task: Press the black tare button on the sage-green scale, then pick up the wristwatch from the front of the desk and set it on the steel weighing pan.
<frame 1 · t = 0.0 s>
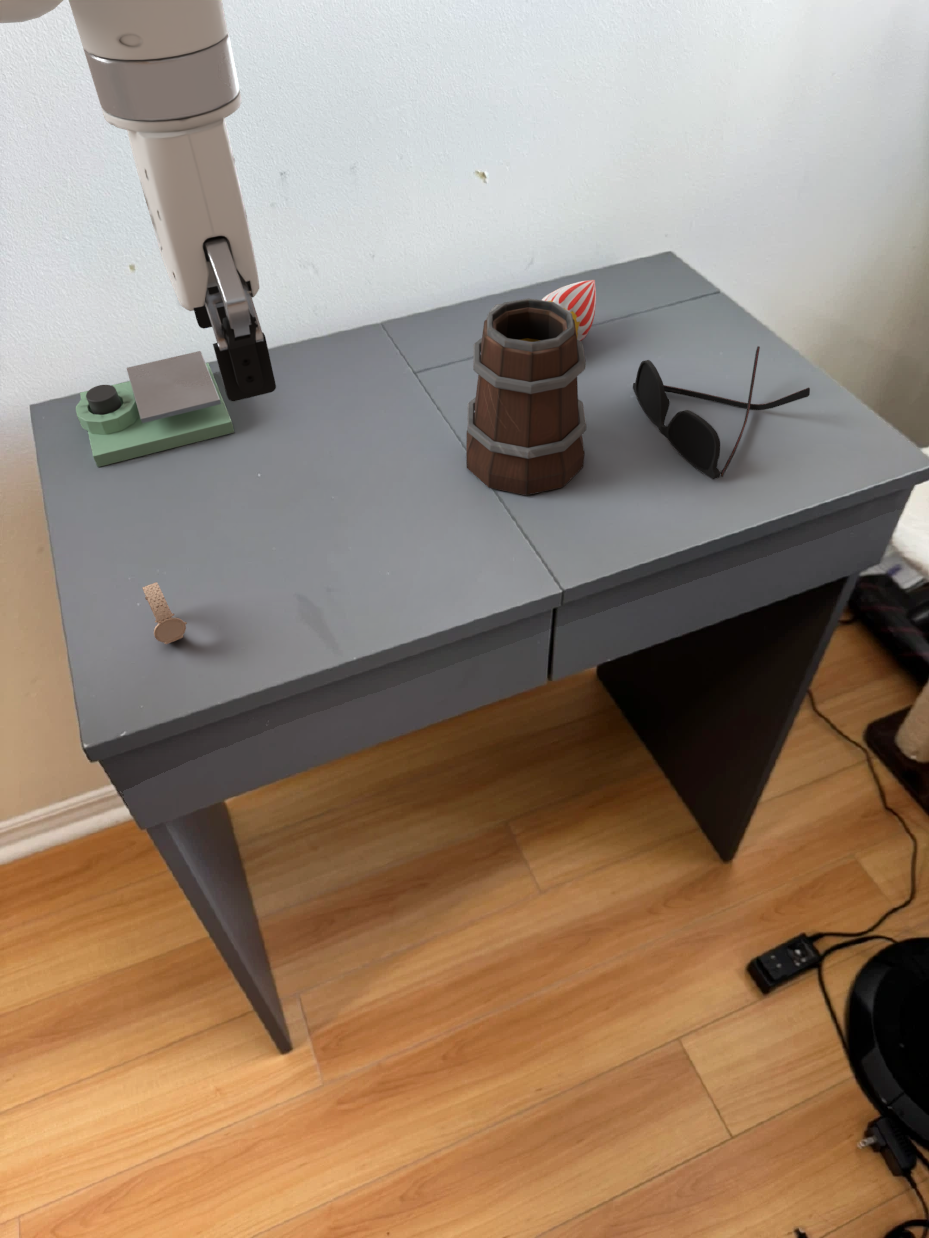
hand: (235, 357, 60), 22 cm above the table, tool pointing down, fingers open, 9 cm apart
wooden bucket: (516, 446, 89), on the table
pan: (181, 412, 94), resting on scale
tare button: (103, 400, 90), point 4 cm above the table, slide at 0.1 cm
sunglasses: (720, 422, 91), on the table
scale: (157, 417, 93), on the table
wristwatch: (171, 633, 73), on the table
ice cream cone: (545, 355, 100), on the table
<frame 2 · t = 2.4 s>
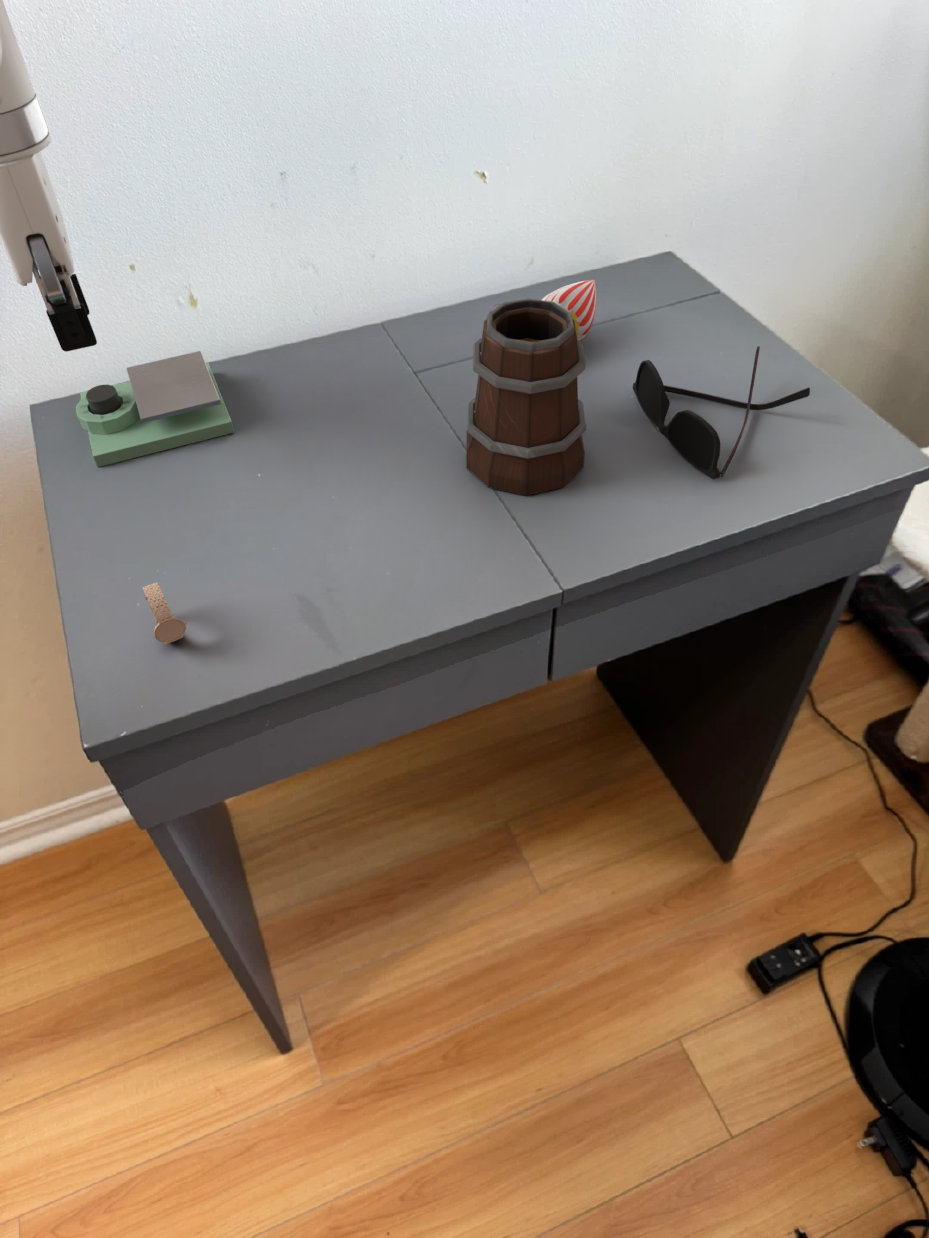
hand: (76, 330, 84), 11 cm above the table, tool pointing down, fingers open, 5 cm apart
nothing on the table moved.
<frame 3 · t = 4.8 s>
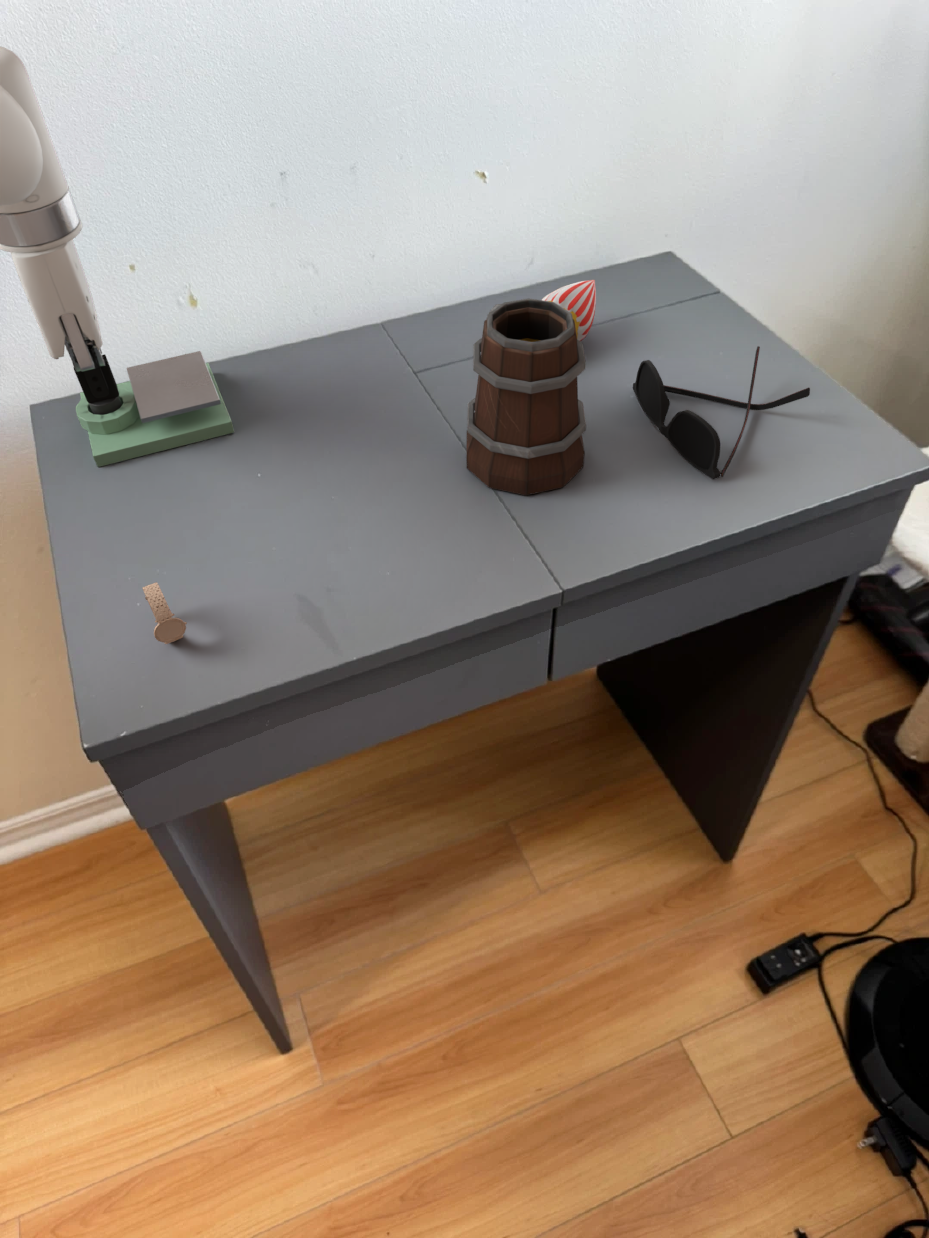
hand: (103, 395, 89), 4 cm above the table, tool pointing down, fingers closed
tare button: (105, 404, 90), point 3 cm above the table, slide at -0.4 cm, touching gripper
everything else where it was.
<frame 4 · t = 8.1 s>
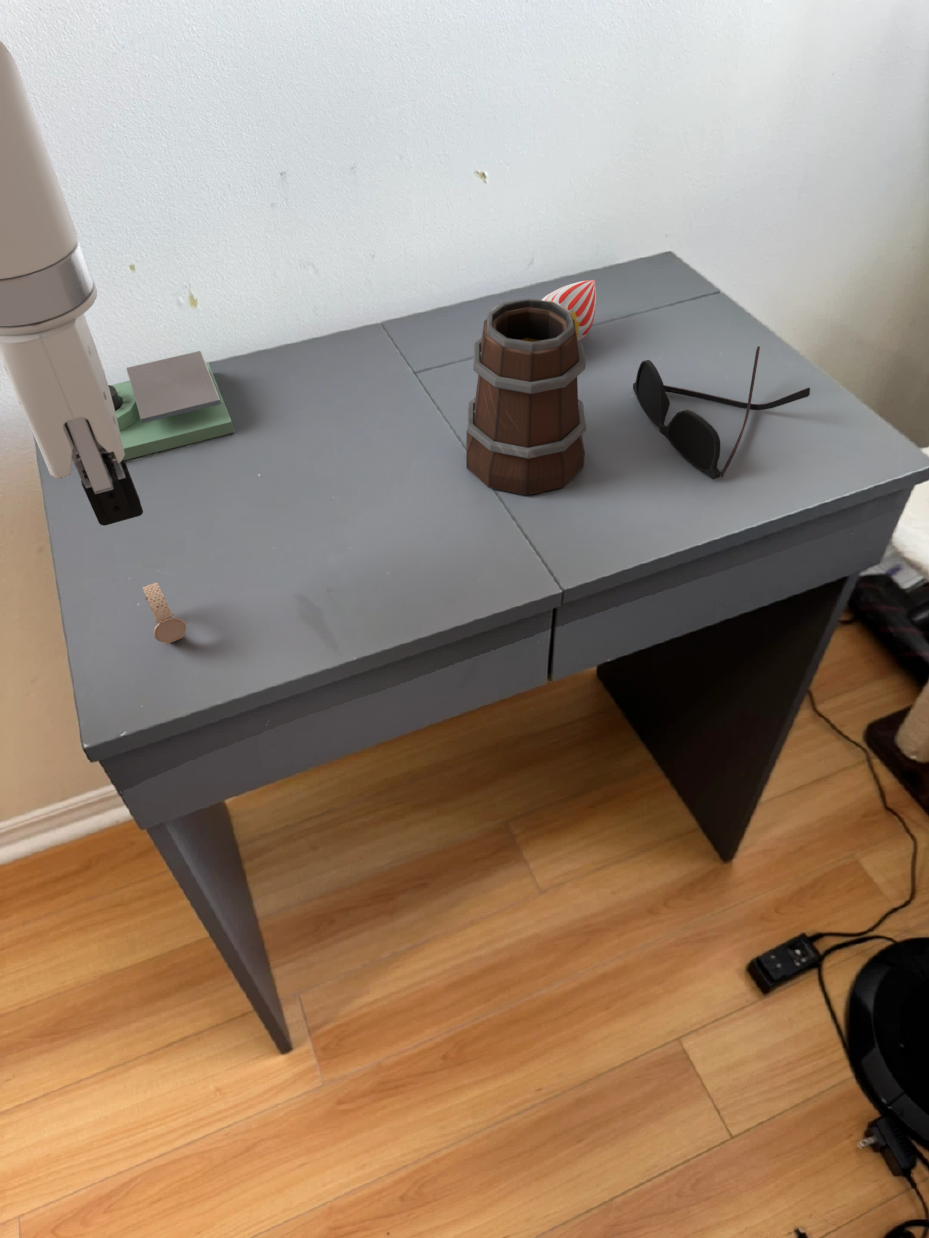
hand: (120, 513, 65), 12 cm above the table, tool pointing down, fingers closed
tare button: (103, 400, 90), point 3 cm above the table, slide at 0.1 cm
everything else where it was.
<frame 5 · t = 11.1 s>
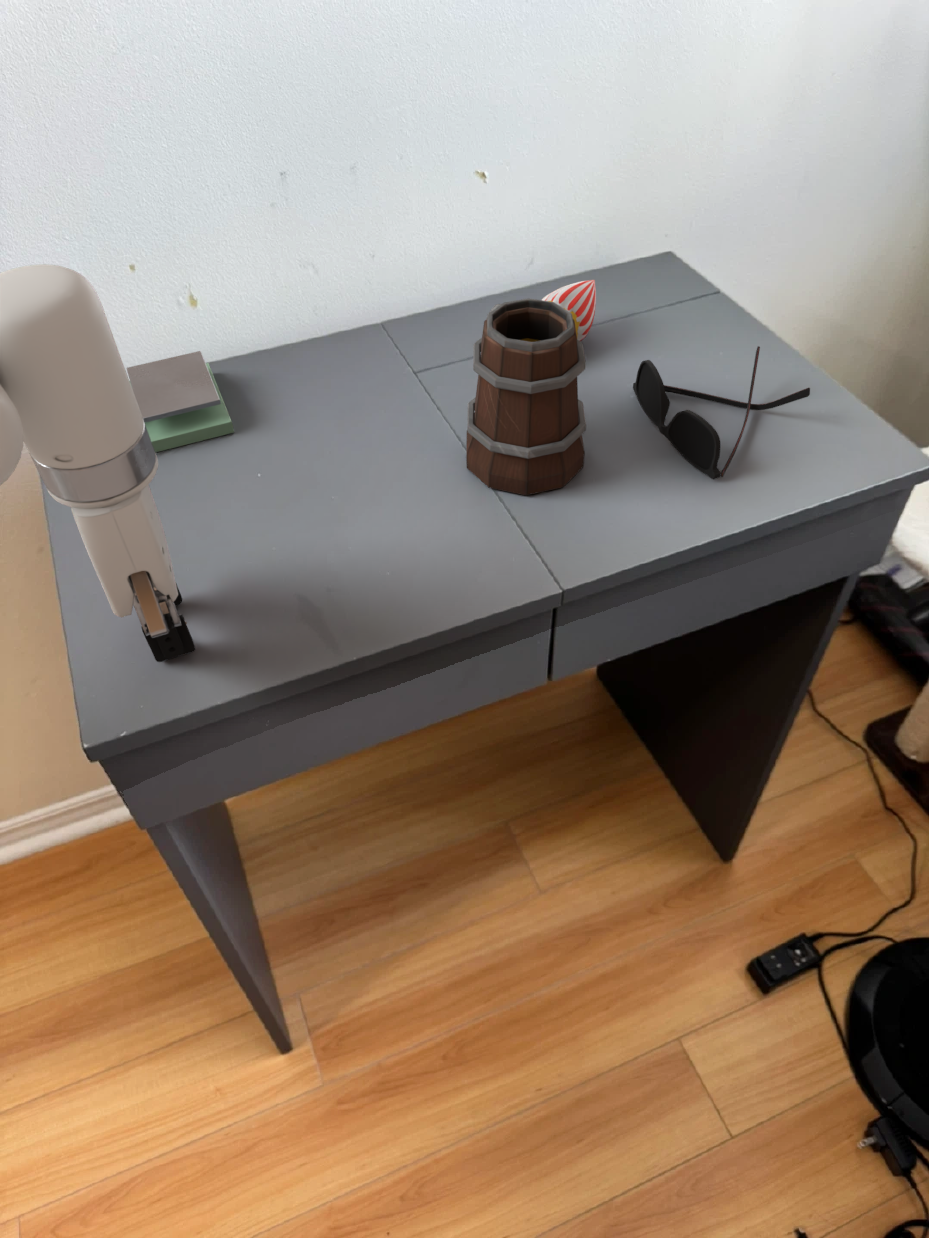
hand: (169, 628, 73), 0 cm above the table, tool pointing down, fingers closed on wristwatch, 5 cm apart
wristwatch: (171, 632, 73), on the table, touching gripper
everything else where it was.
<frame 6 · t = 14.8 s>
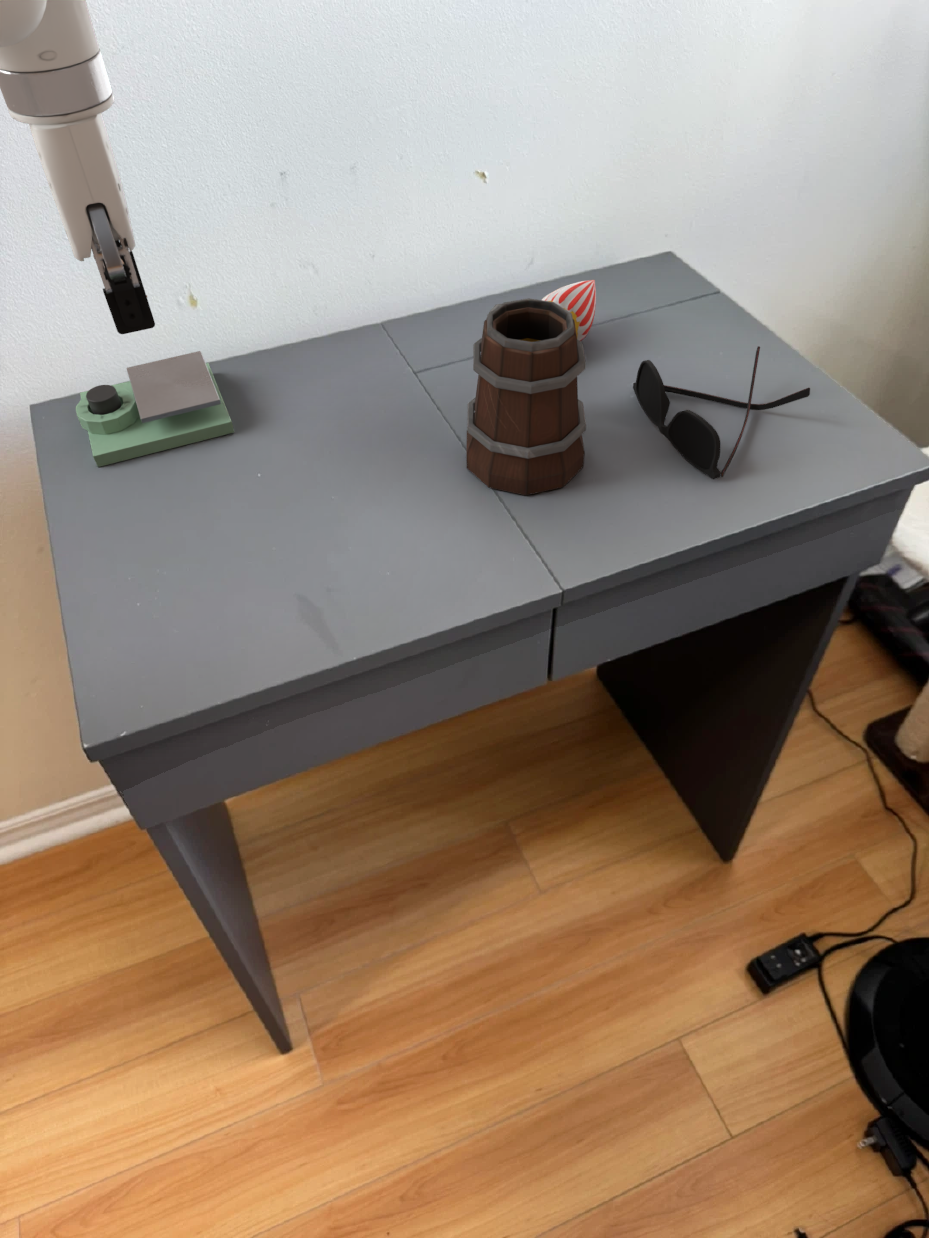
hand: (131, 311, 77), 16 cm above the table, tool pointing down, fingers closed on wristwatch, 5 cm apart
wristwatch: (134, 317, 78), point 15 cm above the table, touching gripper
everything else where it was.
when the fingers open (4 cm above the table, at t = 18.4 s): wristwatch stays where it is, resting on pan.
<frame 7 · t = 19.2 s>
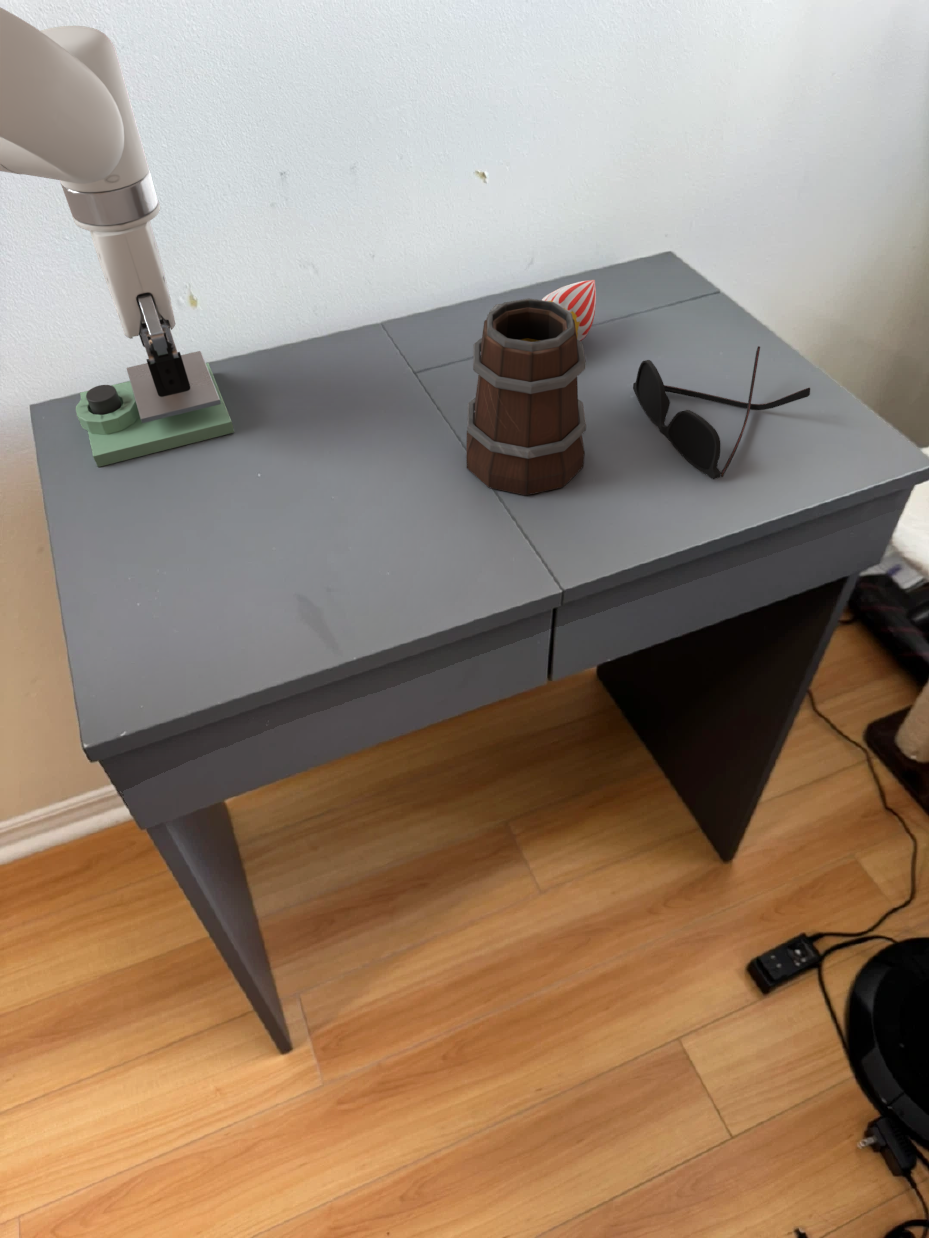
hand: (166, 367, 90), 6 cm above the table, tool pointing down, fingers open, 9 cm apart
wristwatch: (172, 384, 91), point 3 cm above the table, touching pan
everything else where it was.
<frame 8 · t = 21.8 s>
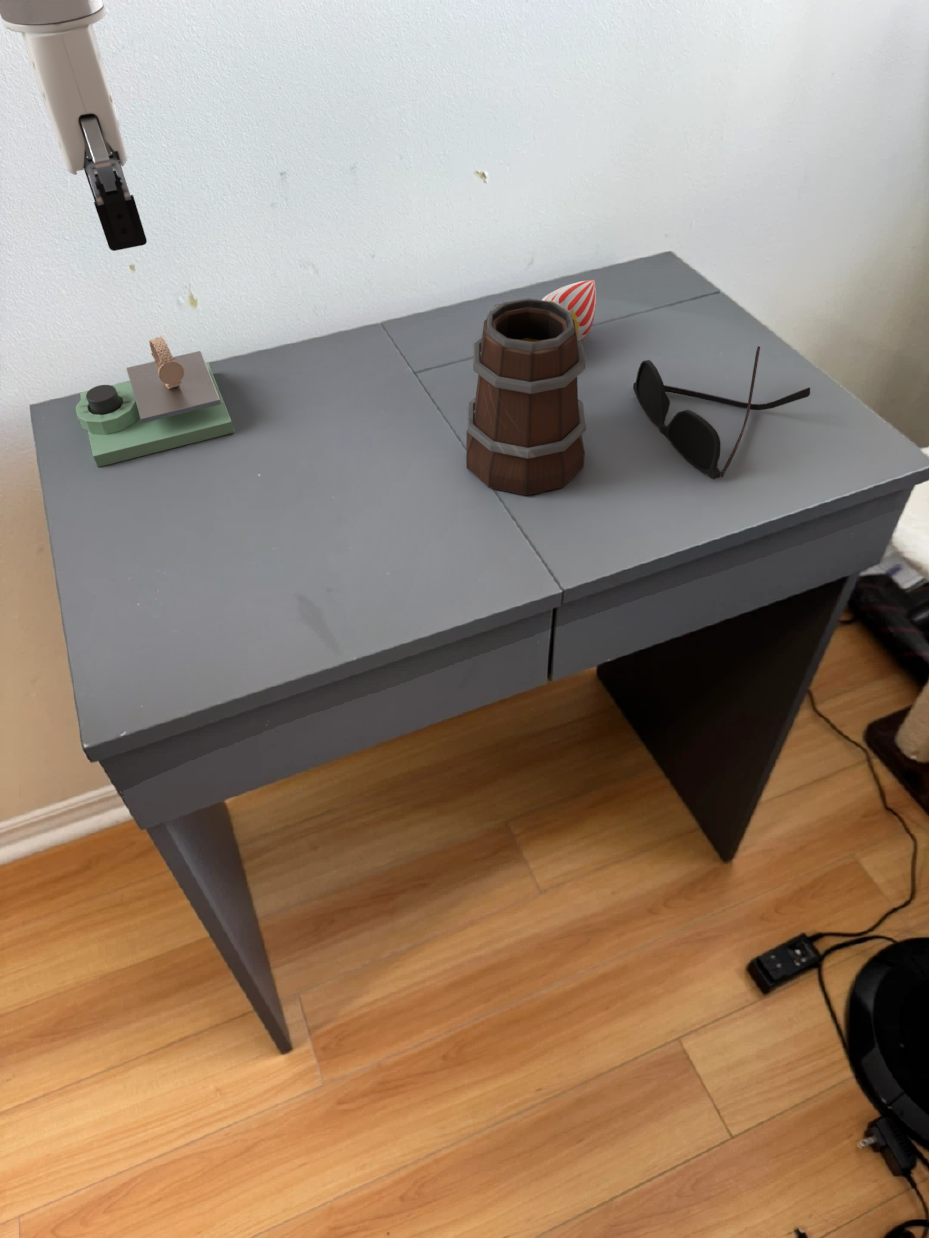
hand: (120, 223, 79), 20 cm above the table, tool pointing down, fingers open, 9 cm apart
nothing on the table moved.
at the end: tare button pushed in 0.9 cm at the most during the clip, back to where it started at the end; tare button slide at 0.1 cm; wristwatch inside the target area on the scale (0.0 cm from its centre), point 3.4 cm above the scale's base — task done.
